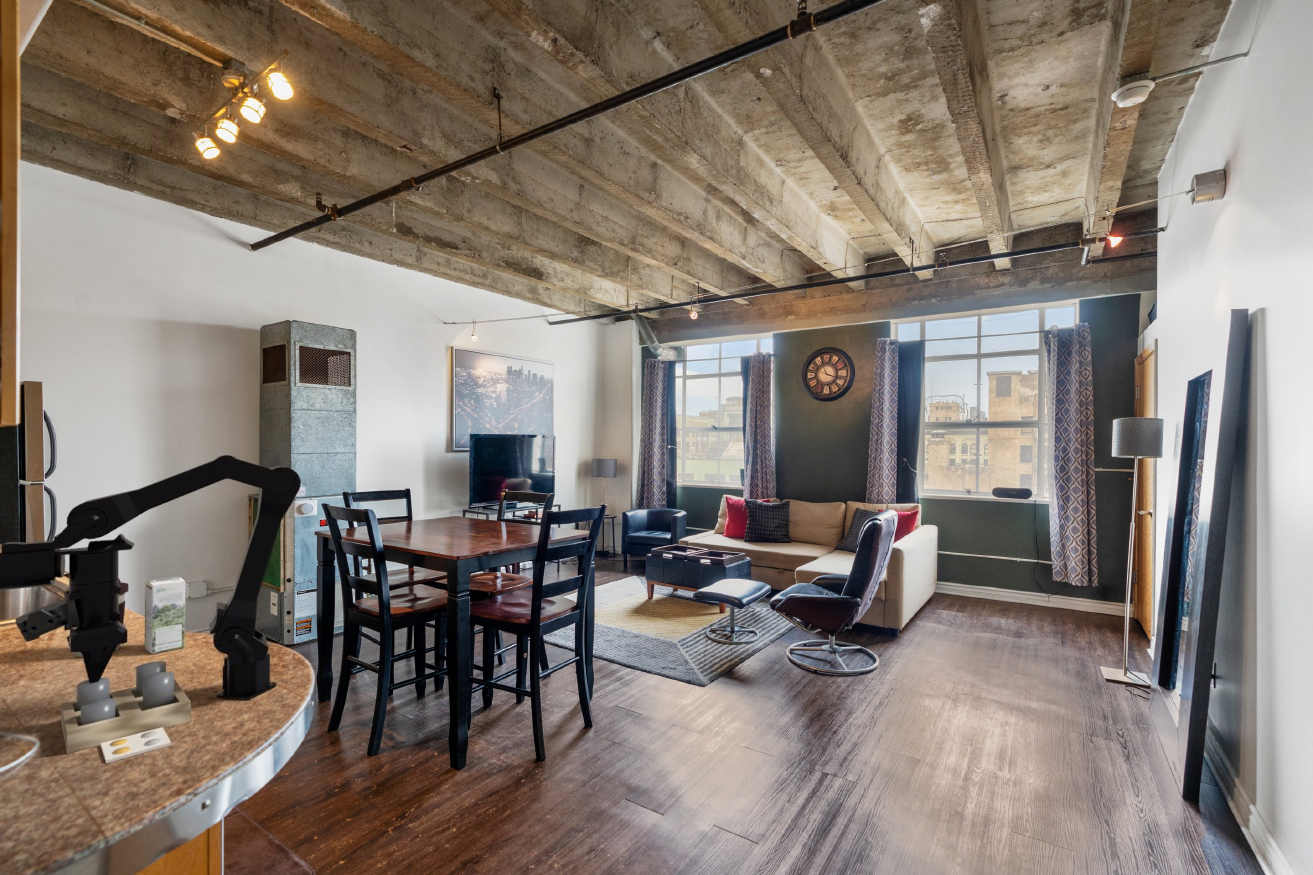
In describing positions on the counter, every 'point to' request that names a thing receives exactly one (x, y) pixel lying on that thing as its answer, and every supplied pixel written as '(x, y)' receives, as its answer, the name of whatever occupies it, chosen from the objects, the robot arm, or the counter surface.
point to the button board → (122, 719)
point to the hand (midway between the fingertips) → (94, 682)
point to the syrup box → (164, 614)
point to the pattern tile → (134, 744)
